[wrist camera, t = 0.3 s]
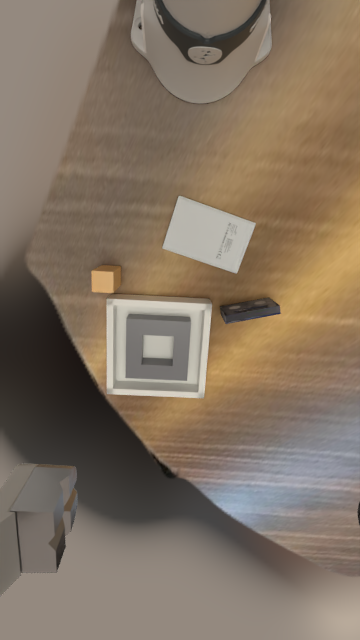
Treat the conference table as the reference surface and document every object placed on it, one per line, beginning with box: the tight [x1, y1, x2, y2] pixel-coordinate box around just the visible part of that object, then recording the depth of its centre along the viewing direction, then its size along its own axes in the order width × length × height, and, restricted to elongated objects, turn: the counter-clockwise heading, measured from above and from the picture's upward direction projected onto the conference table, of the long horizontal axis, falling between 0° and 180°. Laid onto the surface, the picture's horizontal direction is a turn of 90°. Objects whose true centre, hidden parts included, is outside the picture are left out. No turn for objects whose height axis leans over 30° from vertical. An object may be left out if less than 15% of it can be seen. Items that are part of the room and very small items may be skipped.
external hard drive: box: [162, 196, 256, 274], centre depth 52 cm, size 2×8×12 cm
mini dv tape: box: [220, 298, 281, 324], centre depth 53 cm, size 8×2×6 cm, turn 101°
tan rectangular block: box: [92, 265, 121, 293], centre depth 50 cm, size 3×3×7 cm
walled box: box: [107, 293, 212, 398], centre depth 55 cm, size 16×16×4 cm
